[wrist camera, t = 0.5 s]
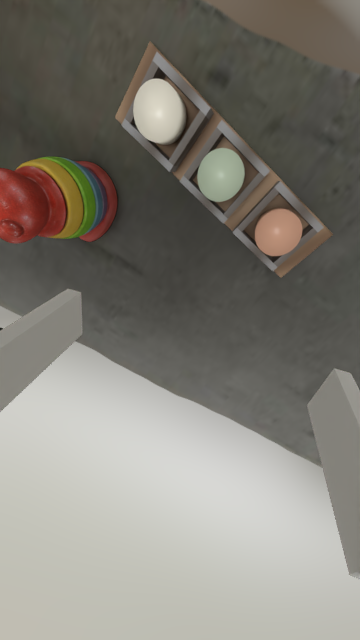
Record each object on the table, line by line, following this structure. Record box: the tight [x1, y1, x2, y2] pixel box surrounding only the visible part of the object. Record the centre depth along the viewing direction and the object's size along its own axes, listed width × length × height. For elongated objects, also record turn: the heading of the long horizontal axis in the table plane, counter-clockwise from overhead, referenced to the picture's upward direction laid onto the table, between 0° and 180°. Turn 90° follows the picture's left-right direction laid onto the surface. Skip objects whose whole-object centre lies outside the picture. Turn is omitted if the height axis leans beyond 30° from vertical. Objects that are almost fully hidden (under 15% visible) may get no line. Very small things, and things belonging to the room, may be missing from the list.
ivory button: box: [133, 79, 187, 145], centre depth 26 cm, size 5×5×3 cm
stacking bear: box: [0, 157, 117, 243], centre depth 30 cm, size 11×10×18 cm
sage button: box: [197, 148, 245, 202], centre depth 28 cm, size 5×5×3 cm
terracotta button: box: [255, 207, 302, 256], centre depth 29 cm, size 5×5×3 cm
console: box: [115, 42, 333, 278], centre depth 30 cm, size 30×8×4 cm, turn 51°
